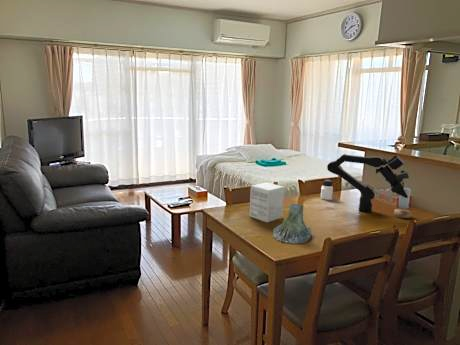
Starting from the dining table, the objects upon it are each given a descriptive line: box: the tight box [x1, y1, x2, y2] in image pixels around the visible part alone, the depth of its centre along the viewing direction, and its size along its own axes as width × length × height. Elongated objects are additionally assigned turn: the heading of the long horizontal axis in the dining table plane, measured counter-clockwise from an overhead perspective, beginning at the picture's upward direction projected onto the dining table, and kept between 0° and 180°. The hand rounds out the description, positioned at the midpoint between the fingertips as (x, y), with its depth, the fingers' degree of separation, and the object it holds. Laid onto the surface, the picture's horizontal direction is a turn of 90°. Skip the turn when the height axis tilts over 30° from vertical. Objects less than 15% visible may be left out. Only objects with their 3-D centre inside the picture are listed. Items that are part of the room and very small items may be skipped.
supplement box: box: [248, 182, 285, 223], centre depth 200 cm, size 13×13×18 cm
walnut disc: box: [393, 208, 413, 219], centre depth 210 cm, size 9×9×3 cm
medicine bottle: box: [320, 179, 334, 201], centre depth 242 cm, size 7×7×12 cm
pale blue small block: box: [397, 186, 412, 210], centre depth 208 cm, size 5×5×11 cm
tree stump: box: [272, 202, 312, 245], centre depth 176 cm, size 18×20×18 cm
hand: (407, 196), depth 208 cm, fingers closed on pale blue small block, 5 cm apart
